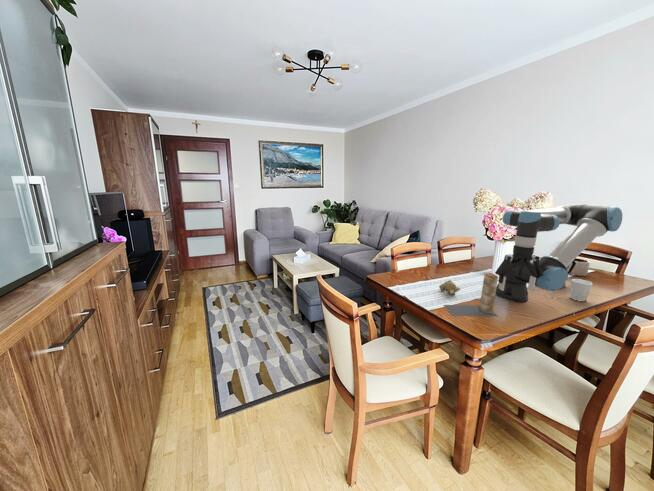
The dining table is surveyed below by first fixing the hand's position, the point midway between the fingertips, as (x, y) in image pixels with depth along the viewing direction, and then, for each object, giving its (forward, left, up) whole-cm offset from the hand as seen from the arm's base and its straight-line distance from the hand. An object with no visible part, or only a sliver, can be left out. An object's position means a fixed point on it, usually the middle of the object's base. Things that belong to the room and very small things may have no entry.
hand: (515, 289), depth 128 cm
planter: (-77, -55, -12) cm, 95 cm away
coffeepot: (-49, -35, -12) cm, 61 cm away
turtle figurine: (+21, -20, -12) cm, 32 cm away
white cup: (-44, -15, -12) cm, 48 cm away
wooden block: (+12, 0, -11) cm, 16 cm away
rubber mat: (+20, 0, -11) cm, 23 cm away
